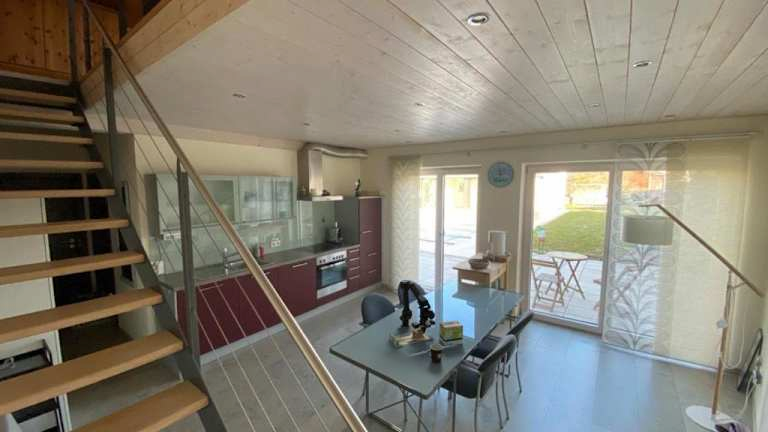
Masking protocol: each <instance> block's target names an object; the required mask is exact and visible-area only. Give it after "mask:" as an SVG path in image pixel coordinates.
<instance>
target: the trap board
mask: <svg viewBox="0 0 768 432" xmlns="http://www.w3.org/2000/svg"><path fill="white" fill-rule="evenodd" d="M406 335H407V336H406ZM389 340H390V341H391V343H392V344H393V345H394V346H395V347H396V348H397V349H400V348H403V346H406V345H410V344H414V343H419V342H423V341H428V340H431V338H430V337H429V336H428V335H427V334H426V333H425V334H423V338H419V339H415V338H414V337H413V336H412V332H407V333H404V334H403V336H402V334H398V335H394V334H392V333H391V332H390V333H389ZM412 341H414V342H412Z"/></svg>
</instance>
